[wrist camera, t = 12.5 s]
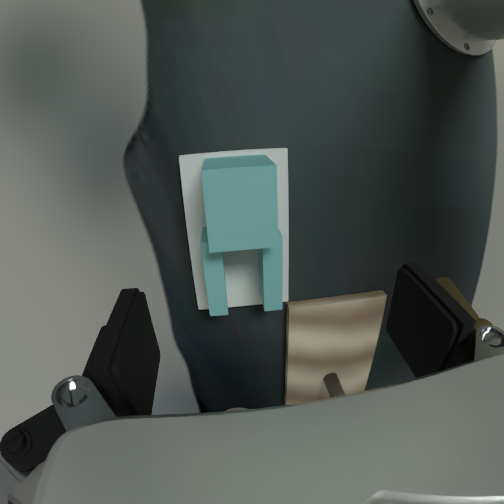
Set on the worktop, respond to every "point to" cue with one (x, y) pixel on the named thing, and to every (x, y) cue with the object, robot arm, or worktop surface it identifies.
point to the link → (241, 225)
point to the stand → (331, 345)
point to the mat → (235, 262)
